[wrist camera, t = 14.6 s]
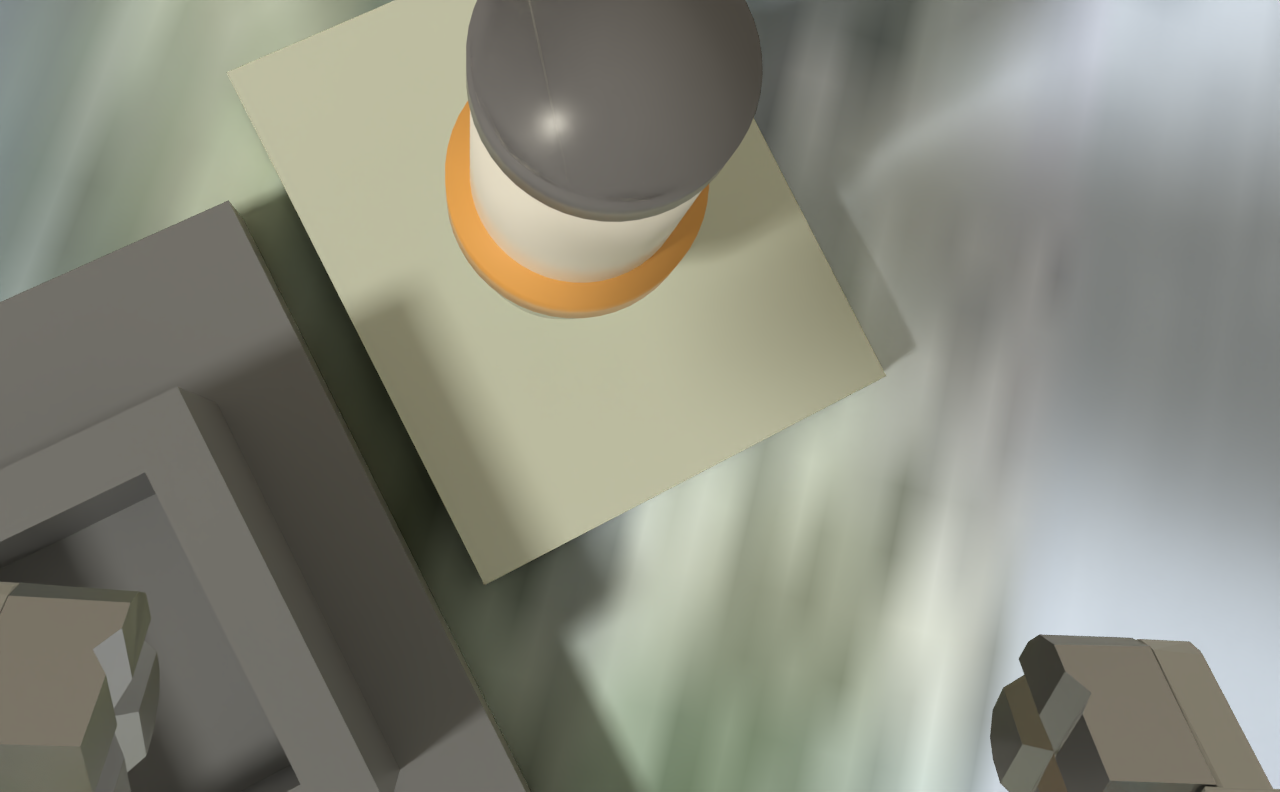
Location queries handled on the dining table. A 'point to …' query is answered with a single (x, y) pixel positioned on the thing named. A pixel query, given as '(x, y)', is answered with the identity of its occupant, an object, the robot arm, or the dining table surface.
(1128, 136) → the dining table surface
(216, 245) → the socket
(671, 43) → the plug
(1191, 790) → the robot arm
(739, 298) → the mat
